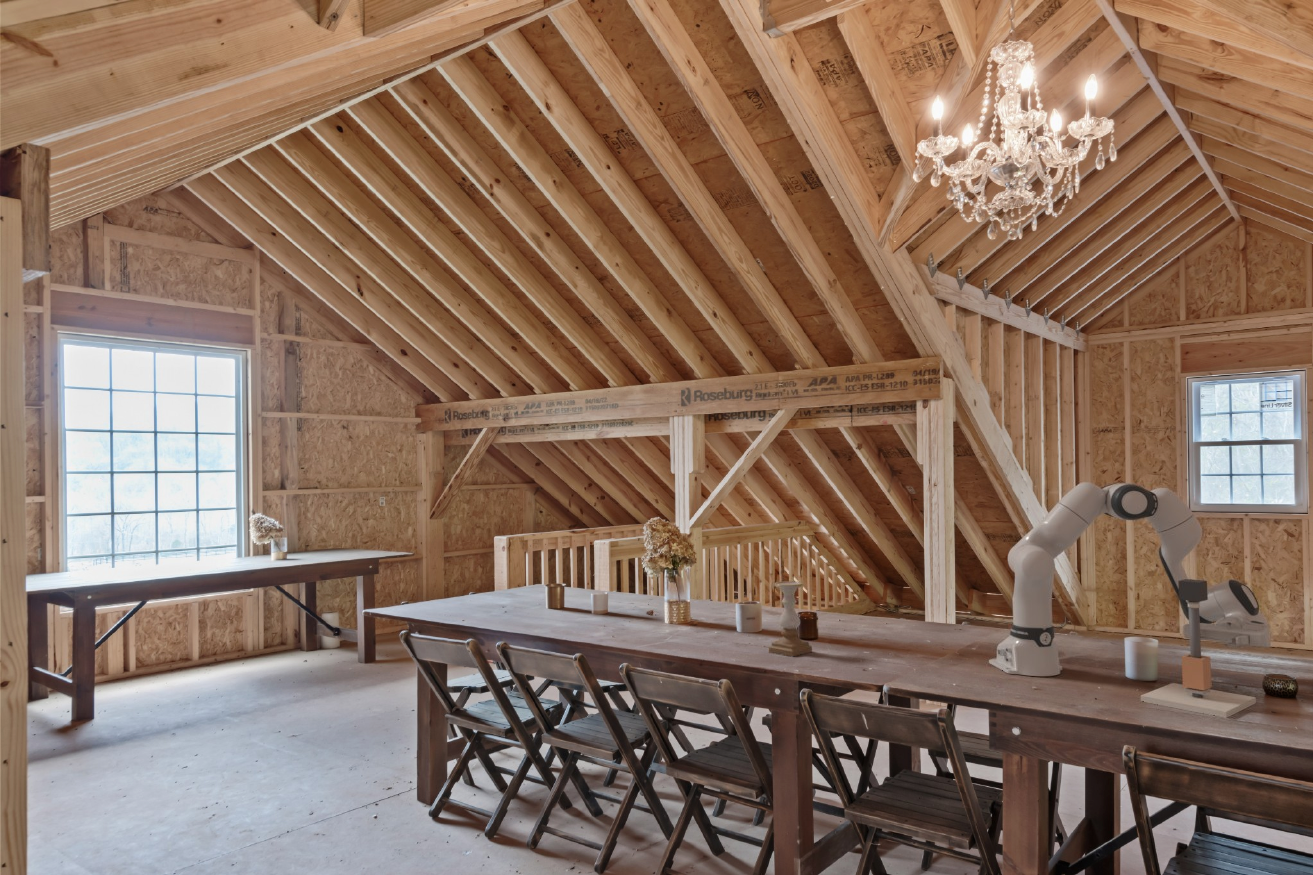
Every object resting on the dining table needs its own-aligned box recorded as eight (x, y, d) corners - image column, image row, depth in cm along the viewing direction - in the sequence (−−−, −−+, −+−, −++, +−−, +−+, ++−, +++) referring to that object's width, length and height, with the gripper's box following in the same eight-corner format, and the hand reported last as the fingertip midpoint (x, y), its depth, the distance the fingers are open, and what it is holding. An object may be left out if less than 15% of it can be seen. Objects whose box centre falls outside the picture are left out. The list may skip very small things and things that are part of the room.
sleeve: (1182, 686, 224) (1181, 656, 225) (1190, 683, 227) (1189, 653, 228) (1203, 690, 220) (1202, 659, 221) (1211, 687, 223) (1210, 656, 224)
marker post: (1140, 701, 226) (1135, 580, 227) (1172, 688, 238) (1168, 573, 239) (1226, 717, 210) (1220, 588, 211) (1255, 703, 222) (1250, 580, 223)
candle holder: (793, 657, 286) (791, 586, 287) (768, 652, 294) (766, 583, 295) (812, 651, 294) (810, 582, 294) (787, 647, 302) (786, 580, 302)
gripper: (1193, 616, 248) (1172, 622, 240) (1275, 624, 232) (1257, 631, 224) (1194, 637, 248) (1174, 644, 240) (1277, 647, 232) (1258, 655, 223)
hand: (1215, 638), depth 231 cm, fingers open, 8 cm apart
